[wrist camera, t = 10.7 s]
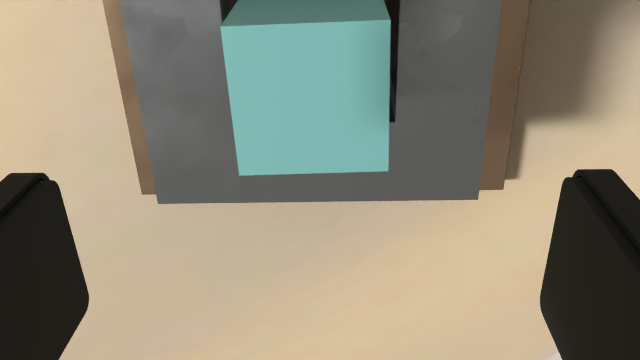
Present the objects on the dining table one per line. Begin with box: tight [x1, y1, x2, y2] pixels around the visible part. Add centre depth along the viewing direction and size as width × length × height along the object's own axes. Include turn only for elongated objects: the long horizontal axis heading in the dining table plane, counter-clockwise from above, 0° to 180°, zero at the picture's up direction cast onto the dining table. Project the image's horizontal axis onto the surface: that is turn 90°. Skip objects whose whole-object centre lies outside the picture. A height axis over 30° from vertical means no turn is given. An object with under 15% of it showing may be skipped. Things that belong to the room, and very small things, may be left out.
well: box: [103, 0, 531, 204], centre depth 25 cm, size 20×20×7 cm
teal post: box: [220, 0, 391, 176], centre depth 22 cm, size 5×5×12 cm
